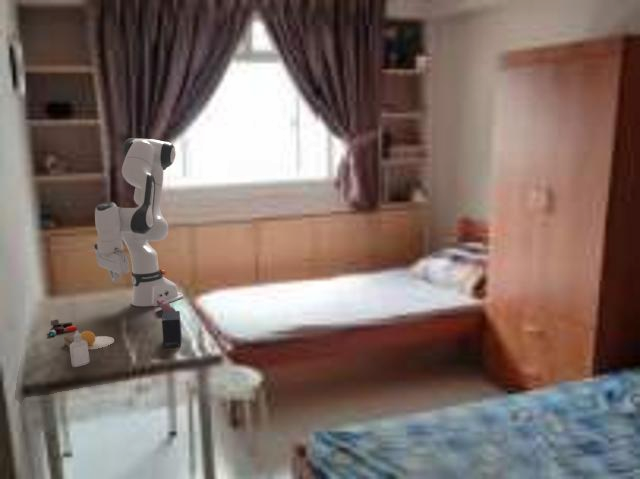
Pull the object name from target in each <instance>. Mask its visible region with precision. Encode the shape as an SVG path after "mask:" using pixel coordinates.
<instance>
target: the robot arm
mask: <svg viewBox="0 0 640 479" xmlns="http://www.w3.org/2000/svg"><path fill="white" fill-rule="evenodd" d="M122 156H123V158H124V160H123V164H122V167H121V174H122V177H123V179H124V180H125V181H126V182H127V183H128V184H130V185H131V186H133V187H134V188H135V189H134V193H133V201H134V203H135V204H136V205H138V206H137V207H120V206H117V204H116V203H115V202H112V201H111V202H110V201H105V202H103V203H100V204H98V205H96V206H95V210H94V220H95V221H94V222H95V223H94V224H95V230H96V231H97V241H96V242H95V243H93V249H94V251H95V258H96V262H97V265H98V266H99V267H100V268H103V269H105V270H108V274H109V276H110V280H111V281H112V282H114V283H118V282H120V276H121V275H122V276H123V275H127V274H129V273H130V271H131V282H132V285H133V291H132V292H133V293H132V300H131V305H133V306H134V307H135V306H136V307H158V306H157V300H158V299H165V300H166V302H167V303H169V304H170V303H172V302H174V301H175V302H176V301H178V300H181V299H183V298H184V294H183V293H181V292H179V291H178V288H177V285H176V284H175V283H174V282H173V281H171V280H169V279H167V278H166V277H164V276H166V275H167V273H168V272H167V270H165V269H160V268H159V262H158V261H159V260H158V253H157V251H156V250H155V249H154V248H153V247H152V246H151V245H150V243H149V242H156V241H157V242H158V241H162V240H164V239H165V238H166V237H167V236H168V234H169V224H168V221H167V220H166V218H164V216H163V214H162V211H161V205H160V204H161V197H162V196H161V195H162V189H163V182H164V171H165V170H166V169H167V168H169V167H171V166H172V165H173V163H174V161H175V158H176V148H175V146H174V144H173V143H171V142H168V141H162V140H158V139H153V138H150V139H149V138H136V137H130V138H127V139H126V140H125V141H124V143H123V146H122ZM124 244H125V245H126V247H127V251H128V252H129V256H130V260H131V261H130V263H131V268H132V269H130V263H129V258H128V255H127V253H125V252H124V248H125V247H124ZM163 275H164V276H163Z"/></svg>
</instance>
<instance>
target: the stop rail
mask: <svg viewBox="0 0 640 479" xmlns="http://www.w3.org/2000/svg"><path fill="white" fill-rule="evenodd" d="M63 338H64V340H63V341H64V345H66V347H67V348H70V344H71V343H73V342H74V335H71V334H69V335H66V336H64V337H63Z"/></svg>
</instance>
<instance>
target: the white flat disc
mask: <svg viewBox="0 0 640 479" xmlns="http://www.w3.org/2000/svg"><path fill="white" fill-rule="evenodd" d="M114 342H115V339H114V338H113V337H111V336H106V335H104V336H103V335H100V336H95V342H94V343H93V344H92V345H91V346H88V351H89V350H90V351H91V350H97V349H98V348H99V349H102V347H103V348H106V347H109V346H111V345H112V344H114ZM110 344H111V345H110ZM108 345H109V346H108ZM99 349H98V350H99Z"/></svg>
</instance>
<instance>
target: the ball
mask: <svg viewBox="0 0 640 479" xmlns="http://www.w3.org/2000/svg"><path fill="white" fill-rule="evenodd" d="M80 334H81V336H82V340H85V341H87V344H88V346H91V345H92V344H93V343H94V342H95V337H96V335H95V333H94V332H93V331H91V330H84V331H82V332H81V333H80Z"/></svg>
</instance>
